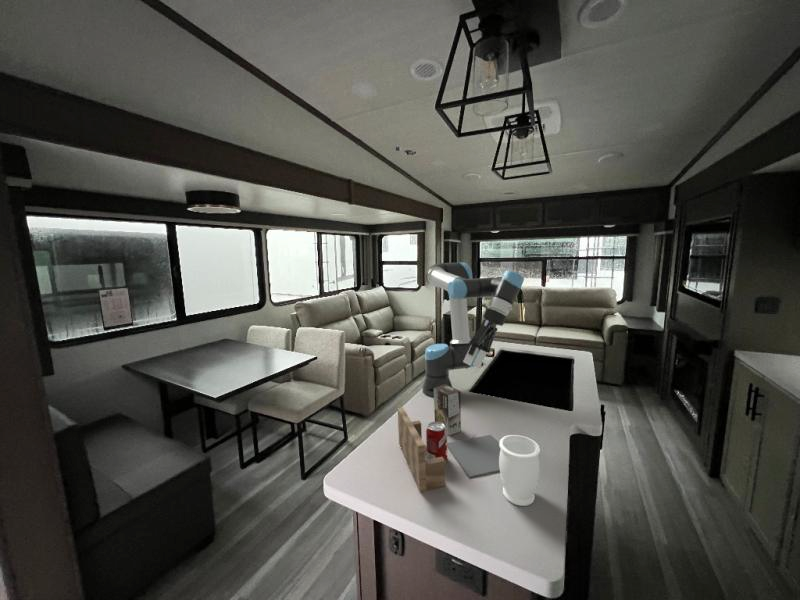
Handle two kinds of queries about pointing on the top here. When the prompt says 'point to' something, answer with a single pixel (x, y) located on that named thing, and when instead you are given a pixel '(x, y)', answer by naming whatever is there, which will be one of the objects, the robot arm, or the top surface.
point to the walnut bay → (419, 455)
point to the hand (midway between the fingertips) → (471, 365)
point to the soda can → (436, 440)
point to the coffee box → (448, 408)
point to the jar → (519, 468)
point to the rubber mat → (477, 455)
